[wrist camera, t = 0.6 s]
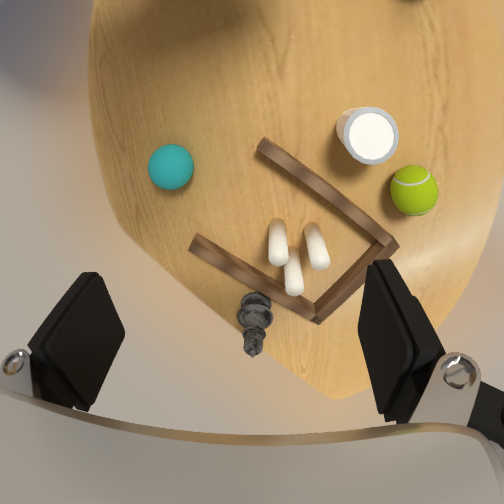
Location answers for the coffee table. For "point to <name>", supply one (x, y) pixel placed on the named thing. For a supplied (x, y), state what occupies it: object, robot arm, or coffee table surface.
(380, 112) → the white cup
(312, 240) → the pin
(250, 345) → the dark gray figurine
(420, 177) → the tennis ball
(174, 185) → the ball
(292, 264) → the pin
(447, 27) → the coffee table surface
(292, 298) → the bumper lane
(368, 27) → the coffee table surface
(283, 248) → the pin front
